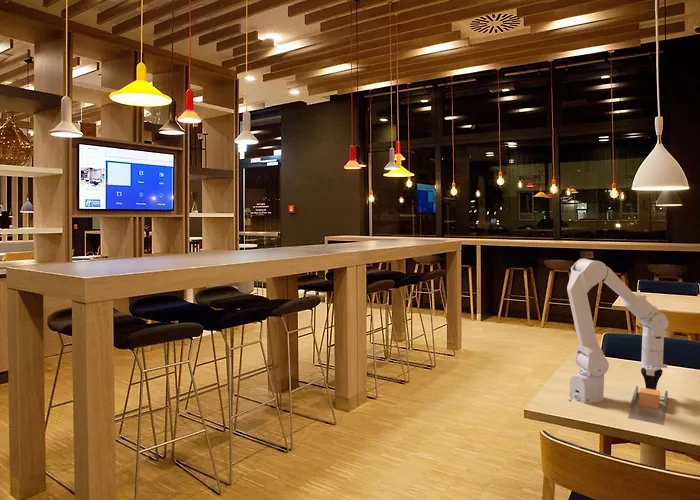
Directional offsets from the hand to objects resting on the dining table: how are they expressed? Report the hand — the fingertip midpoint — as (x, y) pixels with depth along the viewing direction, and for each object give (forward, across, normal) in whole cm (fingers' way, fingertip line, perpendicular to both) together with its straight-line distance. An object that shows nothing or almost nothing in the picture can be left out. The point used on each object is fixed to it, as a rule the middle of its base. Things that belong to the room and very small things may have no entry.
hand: (650, 392), depth 161 cm
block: (+2, -7, 0) cm, 7 cm away
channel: (+3, -9, 0) cm, 9 cm away
